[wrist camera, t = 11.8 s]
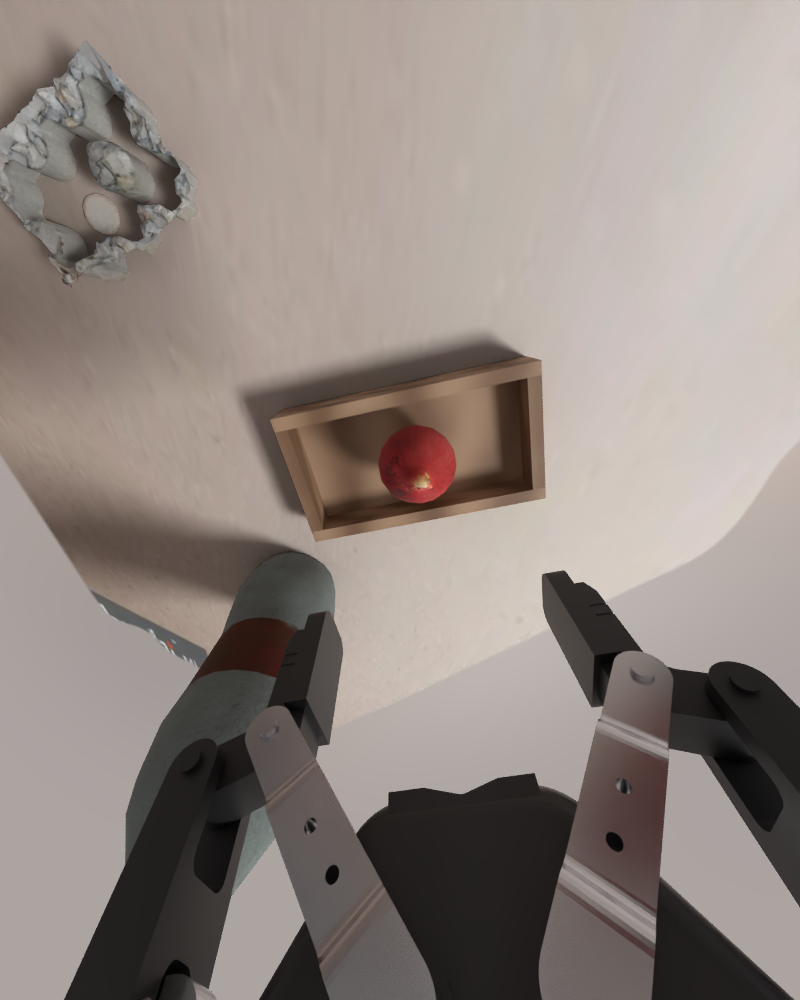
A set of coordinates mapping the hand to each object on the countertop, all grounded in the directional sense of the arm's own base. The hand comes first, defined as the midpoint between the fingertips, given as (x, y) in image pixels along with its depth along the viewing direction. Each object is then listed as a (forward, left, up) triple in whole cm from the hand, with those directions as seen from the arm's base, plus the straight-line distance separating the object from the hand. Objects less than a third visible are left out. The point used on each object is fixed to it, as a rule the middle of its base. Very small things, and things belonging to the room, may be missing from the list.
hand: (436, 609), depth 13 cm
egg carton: (-16, +21, -20) cm, 33 cm away
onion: (0, 0, -19) cm, 19 cm away
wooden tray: (0, 0, -20) cm, 20 cm away
